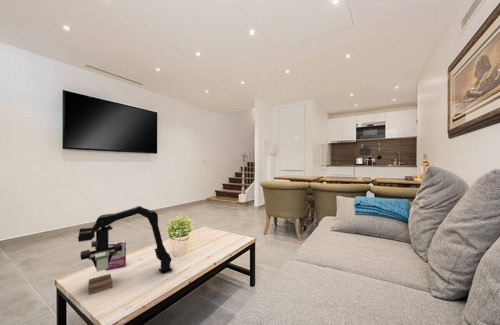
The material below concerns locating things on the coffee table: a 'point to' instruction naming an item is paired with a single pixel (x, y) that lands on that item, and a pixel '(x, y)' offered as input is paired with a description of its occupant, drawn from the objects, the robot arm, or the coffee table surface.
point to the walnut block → (100, 284)
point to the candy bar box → (117, 255)
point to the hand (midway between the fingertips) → (101, 266)
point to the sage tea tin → (102, 263)
